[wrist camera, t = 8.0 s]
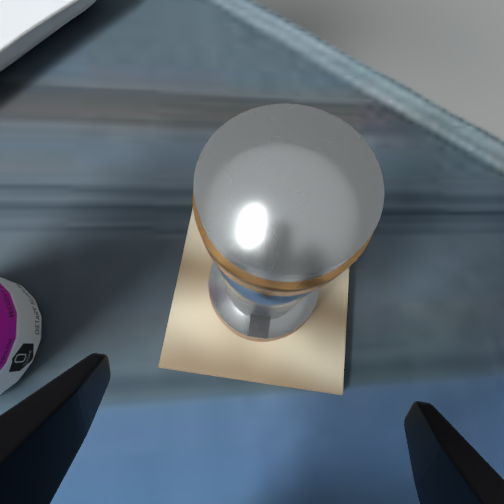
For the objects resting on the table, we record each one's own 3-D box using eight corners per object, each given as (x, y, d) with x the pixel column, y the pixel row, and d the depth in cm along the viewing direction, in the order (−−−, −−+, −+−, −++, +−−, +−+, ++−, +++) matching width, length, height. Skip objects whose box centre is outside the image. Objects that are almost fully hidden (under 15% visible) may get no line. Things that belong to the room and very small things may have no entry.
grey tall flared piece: (309, 347, 19) (431, 346, 6) (202, 331, 19) (117, 300, 7) (318, 243, 21) (424, 87, 8) (221, 230, 21) (181, 57, 8)
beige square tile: (339, 393, 21) (353, 400, 18) (161, 366, 21) (148, 369, 18) (348, 226, 24) (361, 210, 21) (195, 205, 25) (189, 187, 22)
